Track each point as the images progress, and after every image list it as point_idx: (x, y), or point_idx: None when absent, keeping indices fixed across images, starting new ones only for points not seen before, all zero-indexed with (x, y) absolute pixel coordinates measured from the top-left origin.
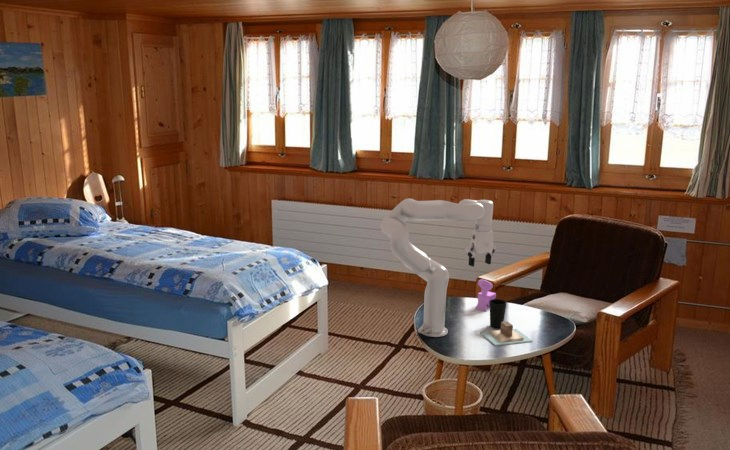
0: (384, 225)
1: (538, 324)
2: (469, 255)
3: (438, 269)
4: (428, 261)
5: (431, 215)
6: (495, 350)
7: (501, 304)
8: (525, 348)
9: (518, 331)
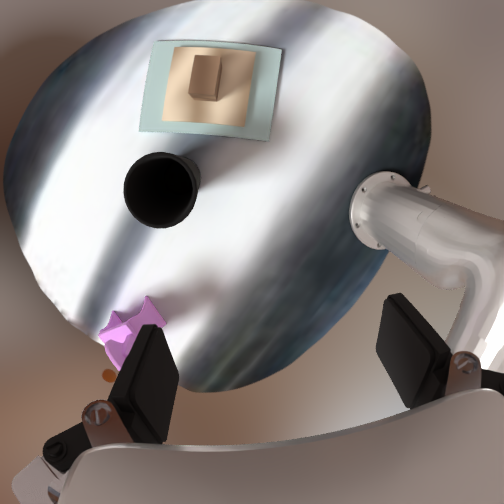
0: None
1: (61, 158)
2: (493, 373)
3: None
4: None
5: None
6: (299, 30)
7: (163, 153)
8: (206, 12)
9: (145, 109)
